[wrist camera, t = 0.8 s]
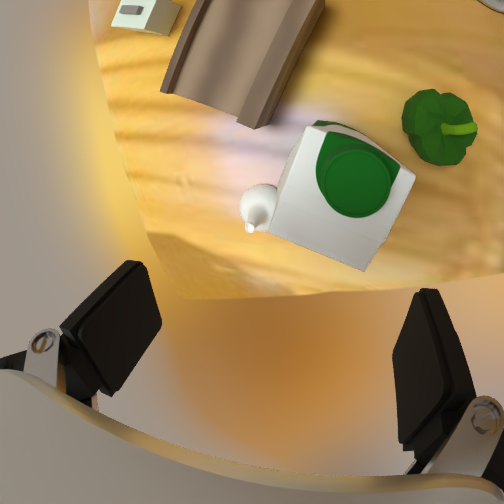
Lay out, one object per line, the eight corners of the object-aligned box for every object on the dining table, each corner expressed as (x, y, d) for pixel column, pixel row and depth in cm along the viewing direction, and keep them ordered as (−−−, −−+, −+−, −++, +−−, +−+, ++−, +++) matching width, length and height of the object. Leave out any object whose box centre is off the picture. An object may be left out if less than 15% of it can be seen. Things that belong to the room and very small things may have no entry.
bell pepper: (391, 151, 30) (414, 169, 21) (392, 87, 26) (417, 80, 17) (449, 160, 28) (486, 181, 19) (452, 98, 24) (491, 100, 15)
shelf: (324, 6, 22) (323, -16, 17) (267, 124, 32) (254, 129, 26) (228, -20, 23) (208, -40, 17) (179, 91, 32) (150, 91, 26)
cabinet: (148, 3, 26) (119, -8, 20) (181, 6, 26) (154, -7, 20) (136, 31, 28) (105, 25, 23) (168, 36, 28) (139, 27, 22)
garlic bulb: (284, 179, 36) (272, 191, 29) (292, 224, 38) (282, 247, 31) (239, 186, 38) (217, 199, 31) (248, 229, 40) (229, 251, 33)
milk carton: (379, 139, 30) (439, 182, 13) (351, 202, 34) (369, 301, 18) (312, 110, 30) (296, 113, 13) (288, 176, 35) (247, 252, 18)
